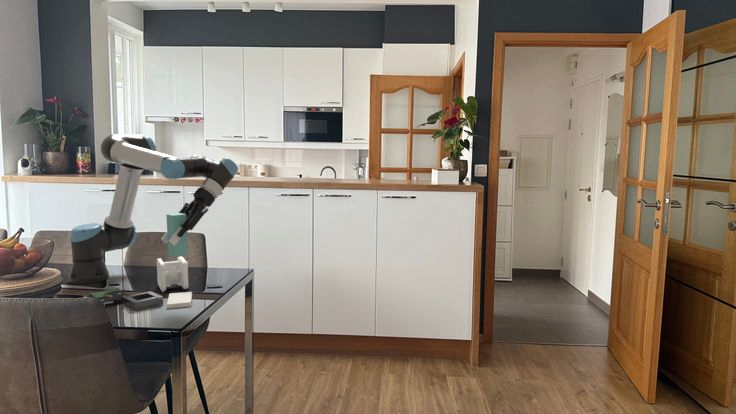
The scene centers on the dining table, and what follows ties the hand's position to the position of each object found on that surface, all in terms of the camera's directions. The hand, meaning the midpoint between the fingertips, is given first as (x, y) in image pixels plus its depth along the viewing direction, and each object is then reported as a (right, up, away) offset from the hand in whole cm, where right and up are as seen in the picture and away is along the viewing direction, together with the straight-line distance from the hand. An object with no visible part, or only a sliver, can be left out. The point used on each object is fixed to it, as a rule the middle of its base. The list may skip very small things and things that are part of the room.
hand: (167, 242), depth 186 cm
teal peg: (+3, -5, +3) cm, 7 cm away
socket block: (-9, -23, +2) cm, 25 cm away
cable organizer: (-7, -20, +24) cm, 32 cm away
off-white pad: (+2, -22, +5) cm, 23 cm away
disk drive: (-24, -23, +8) cm, 34 cm away
